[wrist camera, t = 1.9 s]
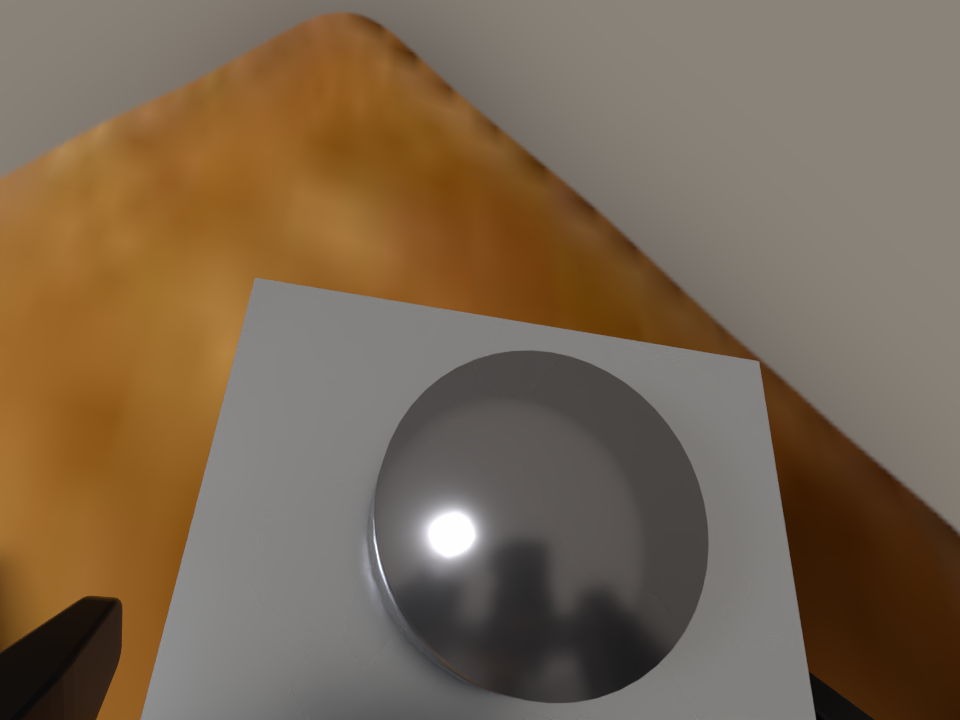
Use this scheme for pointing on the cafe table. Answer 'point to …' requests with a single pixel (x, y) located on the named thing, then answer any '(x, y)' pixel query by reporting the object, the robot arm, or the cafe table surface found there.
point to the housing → (480, 528)
